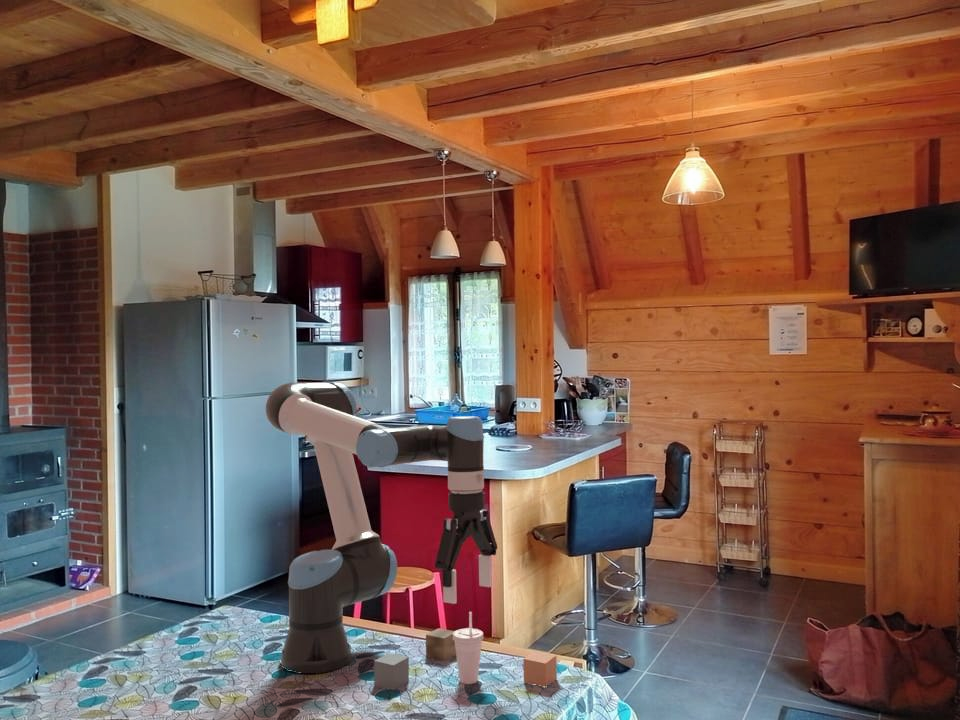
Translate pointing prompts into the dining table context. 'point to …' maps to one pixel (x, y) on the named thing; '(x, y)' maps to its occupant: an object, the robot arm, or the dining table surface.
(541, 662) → the terracotta block
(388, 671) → the grey cube
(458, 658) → the smoothie
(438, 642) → the walnut block
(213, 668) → the dining table surface
